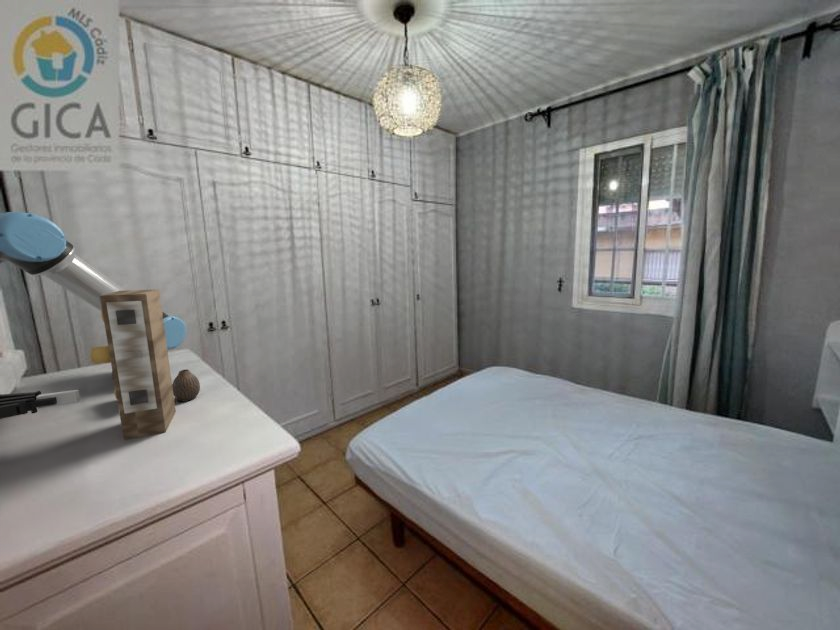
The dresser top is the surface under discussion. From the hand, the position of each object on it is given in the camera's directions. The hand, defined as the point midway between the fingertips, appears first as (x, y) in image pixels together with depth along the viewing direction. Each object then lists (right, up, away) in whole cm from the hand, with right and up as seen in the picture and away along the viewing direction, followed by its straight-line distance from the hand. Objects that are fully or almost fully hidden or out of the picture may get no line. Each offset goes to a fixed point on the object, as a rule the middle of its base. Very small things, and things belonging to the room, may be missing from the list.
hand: (77, 396), depth 78 cm
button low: (+8, -1, +4) cm, 9 cm away
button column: (+11, -9, +7) cm, 16 cm away
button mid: (+5, +8, +1) cm, 9 cm away
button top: (+8, +17, +1) cm, 19 cm away
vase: (+9, -7, +23) cm, 26 cm away
